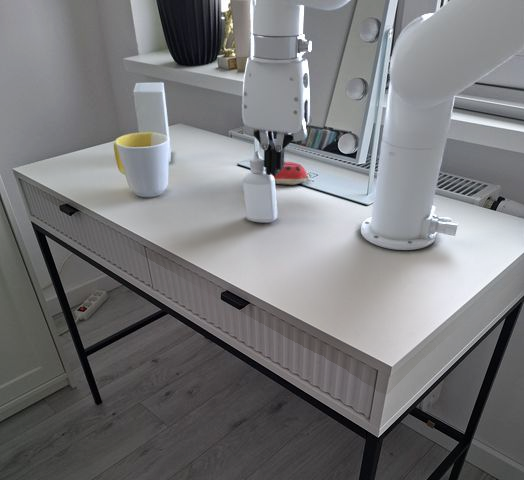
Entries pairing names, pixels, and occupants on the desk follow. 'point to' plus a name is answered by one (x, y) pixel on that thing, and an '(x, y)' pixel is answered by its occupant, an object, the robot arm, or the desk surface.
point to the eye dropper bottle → (259, 192)
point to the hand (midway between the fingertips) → (273, 172)
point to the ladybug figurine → (291, 174)
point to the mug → (143, 162)
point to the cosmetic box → (151, 109)
